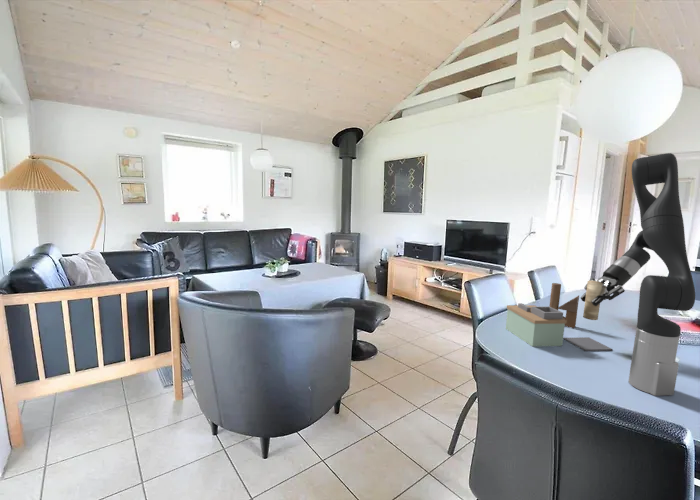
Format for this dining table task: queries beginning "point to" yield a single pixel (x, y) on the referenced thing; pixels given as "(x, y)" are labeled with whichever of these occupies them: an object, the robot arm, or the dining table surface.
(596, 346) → the charcoal mat
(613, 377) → the dining table surface
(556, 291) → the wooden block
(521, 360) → the dining table surface
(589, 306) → the tan ridged cylinder
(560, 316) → the pale green box
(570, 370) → the dining table surface
